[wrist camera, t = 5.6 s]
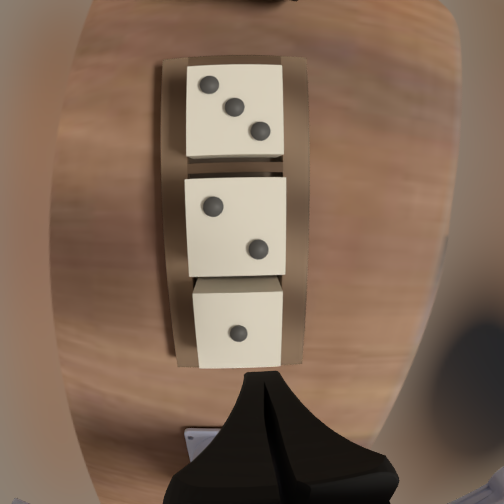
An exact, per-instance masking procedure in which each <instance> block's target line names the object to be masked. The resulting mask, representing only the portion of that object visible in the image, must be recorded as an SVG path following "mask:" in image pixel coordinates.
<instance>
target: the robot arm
mask: <svg viewBox="0 0 504 504" xmlns="http://www.w3.org/2000/svg"><path fill="white" fill-rule="evenodd" d="M184 435H185V440H186V444H187V449H188V453H189V458H190V463H189V464H188V465H187V466H185V467H184V468H183V469H181V470H180V471H179V472H177V473H176V474H175V475H174V476H173V477H172V479H171V481H170V483H169V486H168V488H167V490H166V493H165V496H164V500H163V504H390V502H389V500H390V499H391V497H392V495H393V494H394V492H395V490H396V488H397V487H398V483H399V477H398V475H397V473H396V471H395V469H394V467H393V466H392V464H391V463H390V461H389V460H388V459H387V457H386V456H385V455H382V454H379V453H377V452H374V451H371V450H369V449H366V448H364V447H361V446H359V445H357V444H355V443H353V442H351V441H349V440H347V439H346V438H344V437H342V436H341V435H339V434H338V433H336V432H334V431H333V430H332V429H330V428H329V427H327V426H326V425H325V424H324V423H322V422H321V421H320V420H319V419H318V418H316V417H315V416H314V415H313V414H312V413H311V412H310V411H309V410H308V409H307V408H306V407H305V406H304V405H303V404H302V403H301V402H300V400H299V399H298V398H297V397H296V396H295V394H294V393H293V392H292V391H291V389H290V388H289V387H288V385H287V384H286V382H285V381H284V379H283V378H282V376H281V375H280V373H279V372H278V371H264V372H247V373H246V374H244V381H243V385H242V388H241V391H240V394H239V396H238V399H237V401H236V404H235V406H234V408H233V410H232V411H231V413H230V415H229V417H228V419H227V420H226V422H225V424H224V425H223V427H222V428H221V429H208V428H187V429H185V432H184ZM189 436H192V437H189ZM12 504H29V503H27V502H25V501H22V500H20V499H18V498H14V500H13V502H12ZM447 504H504V467H502V468H500V469H499V470H497V471H496V472H495V473H494V474H493V476H492V477H491V478H490V480H489V481H488V483H487V484H485V485H483V486H481V487H480V488H478V489H476V490H474V491H472V492H470V493H468V494H466V495H464V496H462V497H460V498H458V499H456V500H454V501H452V502H450V503H447Z"/></svg>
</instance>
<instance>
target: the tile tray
mask: <svg viewBox="0 0 504 504" xmlns="http://www.w3.org/2000/svg"><path fill="white" fill-rule="evenodd" d="M230 64H261V65H282V79H283V123H284V155H281V156H279V157H277V158H209V159H192V158H190V157H187V156H186V97H187V67H188V66H203V65H230ZM232 177H286V265H285V275H276V276H277V278H278V281H279V283H280V286H281V288H282V290H283V308H282V340H281V365H292V364H302V359H303V346H304V331H305V315H306V297H307V276H308V248H309V201H310V148H309V102H308V76H307V58H302V57H287V56H262V55H227V56H203V57H188V58H176V59H166V60H163V66H162V88H161V189H162V213H163V231H164V246H165V260H166V272H167V283H168V293H169V303H170V312H171V321H172V329H173V337H174V345H175V352H176V359H177V366H178V367H199V360H198V351H197V341H196V330H195V319H194V307H193V295H192V293H193V290H194V287H195V285H196V282H197V279H198V277H189V266H188V250H187V231H186V208H185V179H198V178H232ZM256 276H258V275H256ZM211 277H214V276H211Z"/></svg>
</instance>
